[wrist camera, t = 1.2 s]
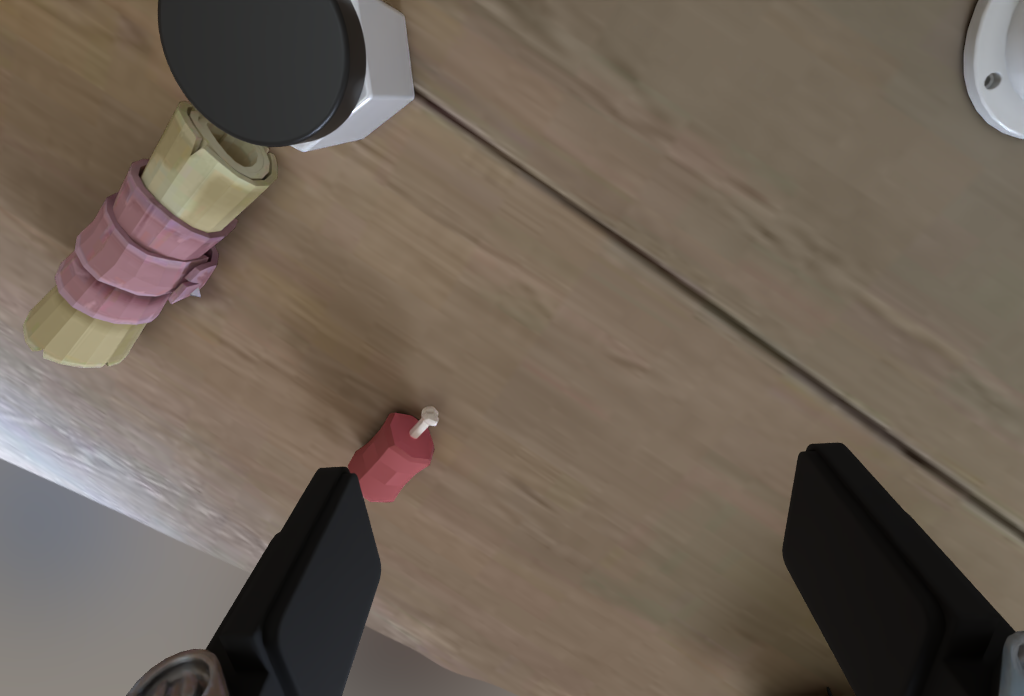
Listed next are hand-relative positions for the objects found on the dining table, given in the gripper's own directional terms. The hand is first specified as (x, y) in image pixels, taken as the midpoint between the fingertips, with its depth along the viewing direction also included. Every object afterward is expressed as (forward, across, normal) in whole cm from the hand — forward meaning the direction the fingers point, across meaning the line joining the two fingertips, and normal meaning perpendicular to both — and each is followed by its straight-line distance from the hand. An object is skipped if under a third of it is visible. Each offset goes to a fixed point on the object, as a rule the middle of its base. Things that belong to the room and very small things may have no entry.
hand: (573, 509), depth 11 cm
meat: (+28, +14, +17) cm, 36 cm away
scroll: (+28, +26, -1) cm, 39 cm away
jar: (+28, +12, -11) cm, 32 cm away
